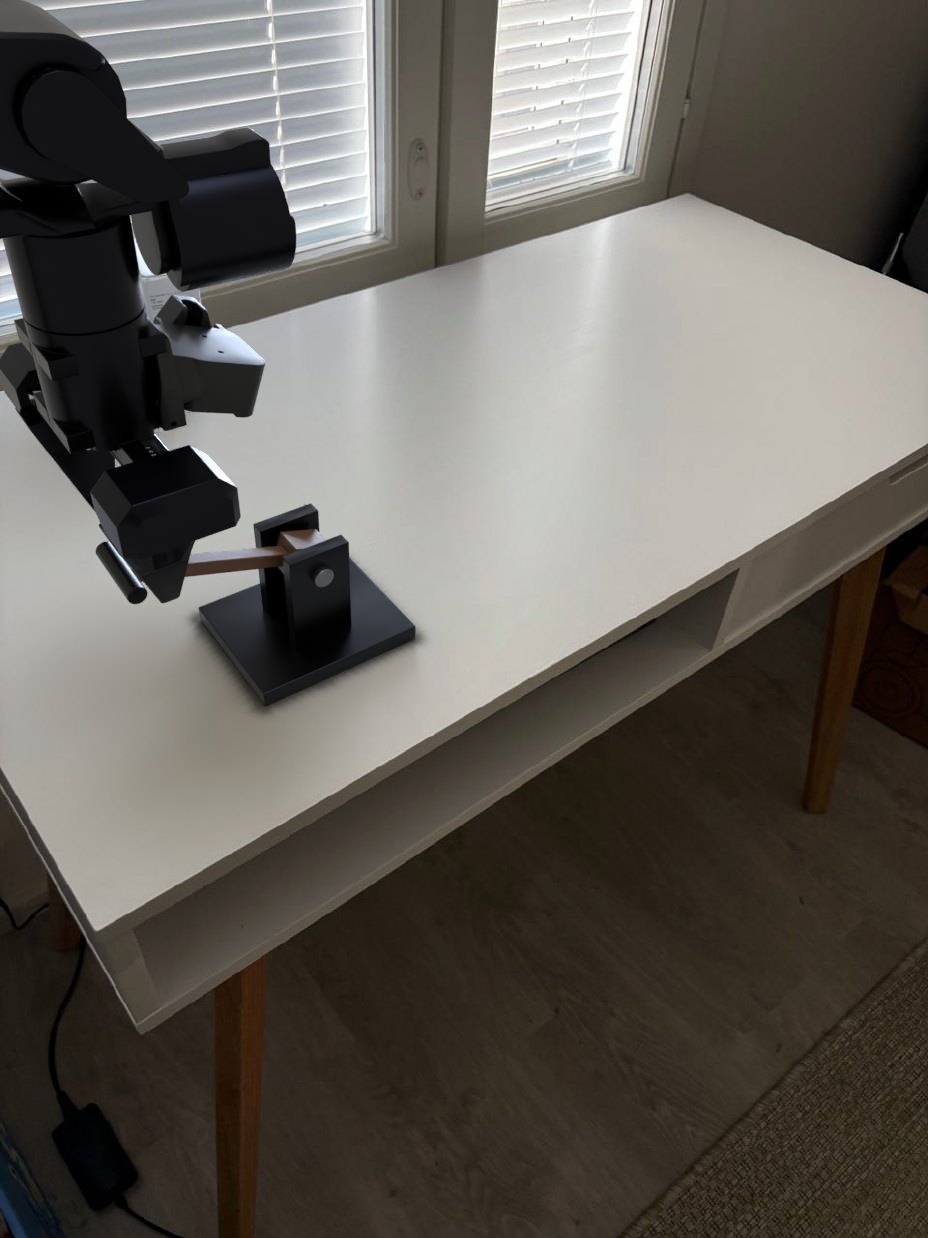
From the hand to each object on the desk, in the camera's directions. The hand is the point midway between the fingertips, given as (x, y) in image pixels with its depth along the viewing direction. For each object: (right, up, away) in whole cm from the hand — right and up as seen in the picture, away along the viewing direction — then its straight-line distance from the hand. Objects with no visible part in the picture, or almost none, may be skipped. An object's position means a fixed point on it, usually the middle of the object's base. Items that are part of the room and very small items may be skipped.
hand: (137, 555), depth 60 cm
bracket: (+8, -4, +13) cm, 16 cm away
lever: (+4, -1, +5) cm, 6 cm away
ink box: (-8, +20, +37) cm, 43 cm away
